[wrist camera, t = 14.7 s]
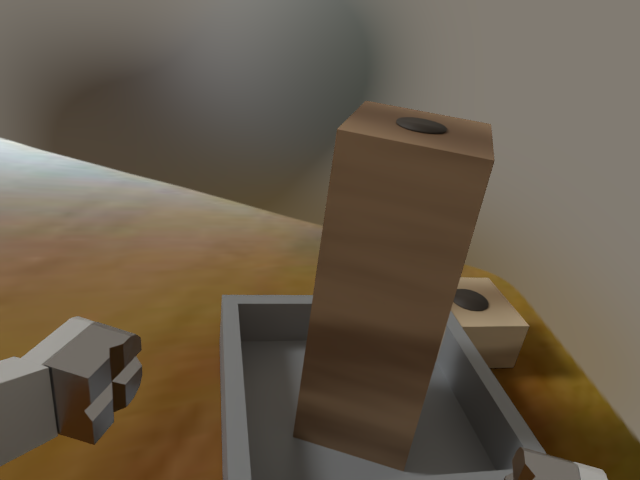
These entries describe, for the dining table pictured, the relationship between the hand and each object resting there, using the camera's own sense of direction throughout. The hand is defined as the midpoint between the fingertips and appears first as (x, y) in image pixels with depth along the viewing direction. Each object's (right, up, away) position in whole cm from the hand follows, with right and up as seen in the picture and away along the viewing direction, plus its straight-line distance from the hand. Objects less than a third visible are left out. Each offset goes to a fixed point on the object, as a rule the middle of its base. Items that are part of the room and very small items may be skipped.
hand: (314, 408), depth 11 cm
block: (+2, -5, +14) cm, 15 cm away
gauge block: (+8, -3, +21) cm, 23 cm away
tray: (+2, -5, +14) cm, 15 cm away
